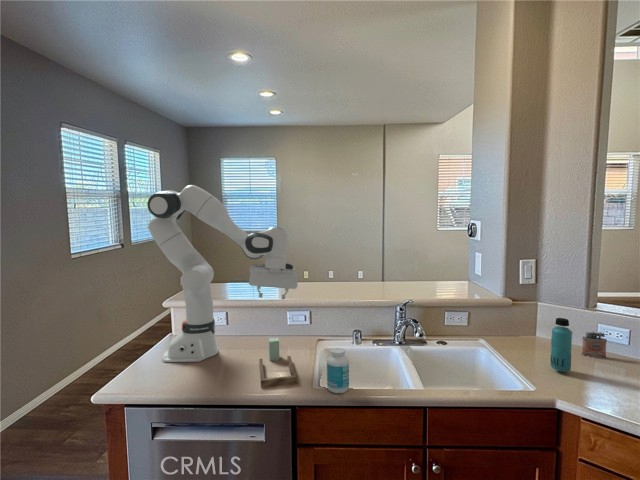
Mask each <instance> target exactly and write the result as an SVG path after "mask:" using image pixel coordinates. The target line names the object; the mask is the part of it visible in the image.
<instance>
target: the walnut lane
mask: <svg viewBox="0 0 640 480" xmlns="http://www.w3.org/2000/svg"><path fill="white" fill-rule="evenodd" d="M258 360H259V378H260V388H269V387H279V386H289V385H297V384H298V383H297V382H298V379H297V378H298V377H297V374H296V371H295V367H294V364H293V363H294V362H293V359H292V356H291V355H287V366H288V369H289V372H290V373H289V374H290V375H287V376H278V377H270V378H269V377H268V378H265V372H264V361H263V358H259V359H258Z"/></svg>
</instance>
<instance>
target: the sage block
mask: <svg viewBox="0 0 640 480" xmlns="http://www.w3.org/2000/svg"><path fill="white" fill-rule="evenodd" d="M268 358H269V362H273V361H280V339H279V337H269V338H268Z"/></svg>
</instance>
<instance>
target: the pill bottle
mask: <svg viewBox="0 0 640 480" xmlns="http://www.w3.org/2000/svg"><path fill="white" fill-rule="evenodd" d="M349 360H350V359H349V358H348V356H347V355H346V350H345V349H344V348H342V347H334V348H331V350H330V355H329V356H328V357H327V359H326V376H327V377H326V381H327V384H326V385H327V389H328V391H329V392H330V393H334V394H344V393H346V392H348V390H349V388H350V373H349V372H350V361H349Z"/></svg>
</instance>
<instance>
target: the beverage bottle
mask: <svg viewBox="0 0 640 480" xmlns="http://www.w3.org/2000/svg"><path fill="white" fill-rule="evenodd" d="M555 325H556V326H554V327H552V329H551V337H550V338H551V339H550V342H551V344H550V346H551V348H550V363H549V364H550V367H551V368H552V369H554V370H556V371H558V372H559V371H560V372H570V371H571V369H572V343H573V342H572V341H573V331H572V330H571V329H570V328H568V327H569V326H570V321H569V319H567V318H564V317H556V318H555Z"/></svg>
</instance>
